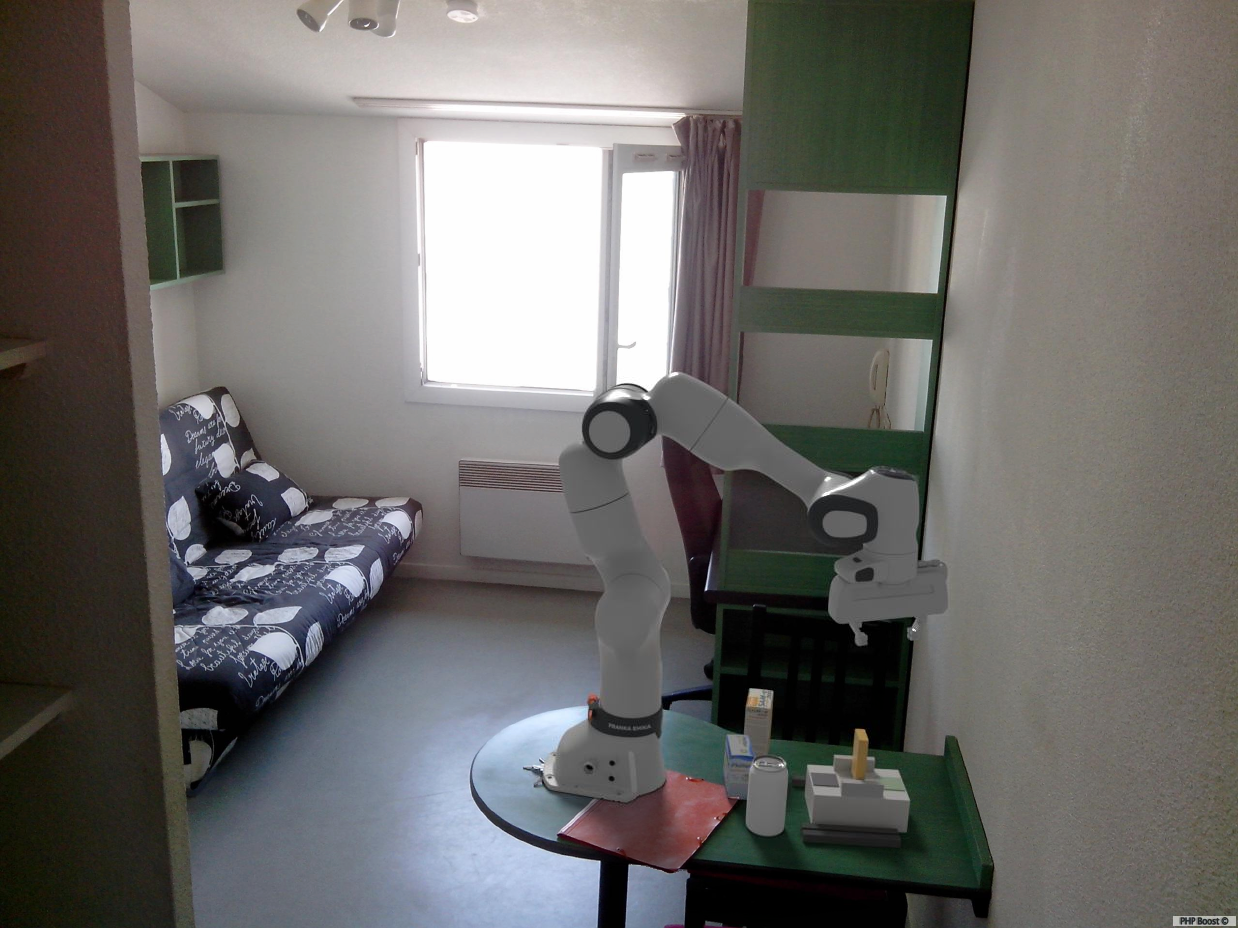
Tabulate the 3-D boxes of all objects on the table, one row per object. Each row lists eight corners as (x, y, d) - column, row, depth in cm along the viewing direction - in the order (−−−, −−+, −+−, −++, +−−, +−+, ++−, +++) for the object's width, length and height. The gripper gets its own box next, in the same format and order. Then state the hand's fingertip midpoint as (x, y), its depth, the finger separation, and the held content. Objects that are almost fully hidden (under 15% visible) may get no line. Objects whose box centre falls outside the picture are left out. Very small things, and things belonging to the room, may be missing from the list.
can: (783, 840, 174) (789, 774, 172) (744, 835, 175) (749, 770, 173) (784, 818, 181) (789, 755, 178) (746, 814, 182) (751, 751, 179)
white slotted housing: (811, 826, 179) (815, 781, 177) (804, 794, 188) (808, 752, 186) (906, 832, 178) (911, 787, 176) (894, 800, 188) (899, 757, 186)
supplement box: (766, 773, 195) (771, 709, 192) (740, 770, 196) (745, 705, 193) (769, 752, 203) (774, 689, 200) (744, 749, 204) (748, 686, 201)
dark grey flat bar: (802, 841, 174) (803, 834, 174) (800, 829, 177) (801, 822, 177) (900, 847, 173) (901, 840, 173) (896, 835, 177) (897, 828, 176)
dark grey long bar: (791, 785, 191) (792, 778, 191) (791, 781, 192) (791, 774, 192) (880, 791, 190) (881, 784, 190) (879, 787, 192) (879, 780, 191)
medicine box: (722, 776, 194) (725, 733, 192) (746, 776, 194) (749, 734, 192) (727, 799, 186) (730, 755, 184) (752, 800, 186) (755, 755, 184)
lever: (855, 789, 179) (859, 742, 177) (850, 772, 184) (854, 726, 182) (864, 789, 179) (869, 742, 177) (859, 772, 184) (863, 726, 182)
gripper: (938, 552, 179) (935, 629, 182) (825, 562, 176) (824, 640, 179) (957, 564, 173) (953, 642, 176) (840, 574, 170) (838, 654, 173)
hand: (887, 641), depth 178 cm, fingers open, 8 cm apart
